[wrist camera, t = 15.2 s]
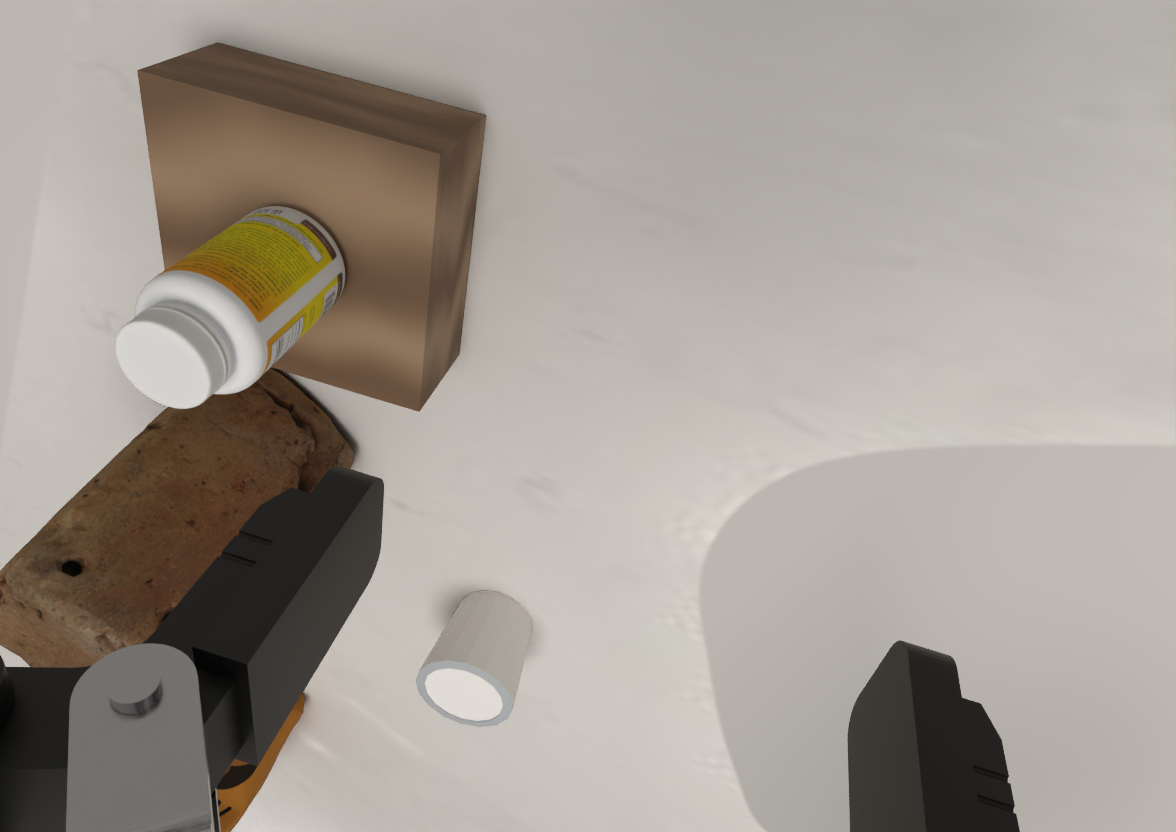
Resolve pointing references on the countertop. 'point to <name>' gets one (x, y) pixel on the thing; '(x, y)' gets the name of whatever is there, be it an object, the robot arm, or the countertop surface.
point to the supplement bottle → (230, 308)
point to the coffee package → (250, 776)
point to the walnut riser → (328, 201)
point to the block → (159, 521)
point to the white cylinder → (477, 660)
